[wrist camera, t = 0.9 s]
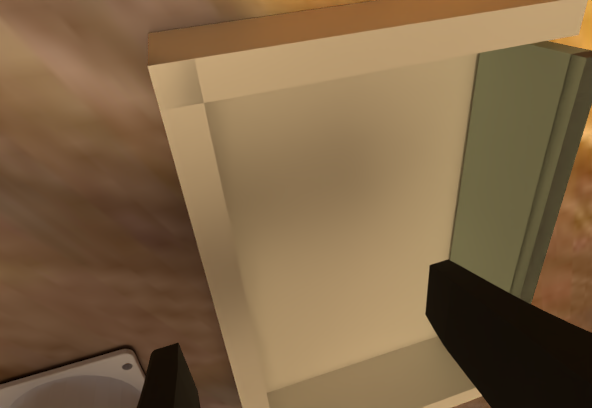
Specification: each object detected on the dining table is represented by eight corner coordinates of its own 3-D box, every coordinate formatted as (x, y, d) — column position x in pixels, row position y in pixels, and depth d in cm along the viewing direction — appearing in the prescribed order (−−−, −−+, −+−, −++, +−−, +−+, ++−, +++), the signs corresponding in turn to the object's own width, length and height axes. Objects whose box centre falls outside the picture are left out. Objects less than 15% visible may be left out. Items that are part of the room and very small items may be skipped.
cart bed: (433, 328, 30) (484, 395, 25) (243, 390, 27) (262, 478, 22) (478, -15, 18) (588, -5, 13) (148, 33, 15) (147, 66, 11)
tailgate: (449, 331, 27) (502, 397, 23) (439, 334, 27) (490, 401, 23) (499, 30, 17) (606, 54, 13) (482, 33, 17) (586, 58, 13)
